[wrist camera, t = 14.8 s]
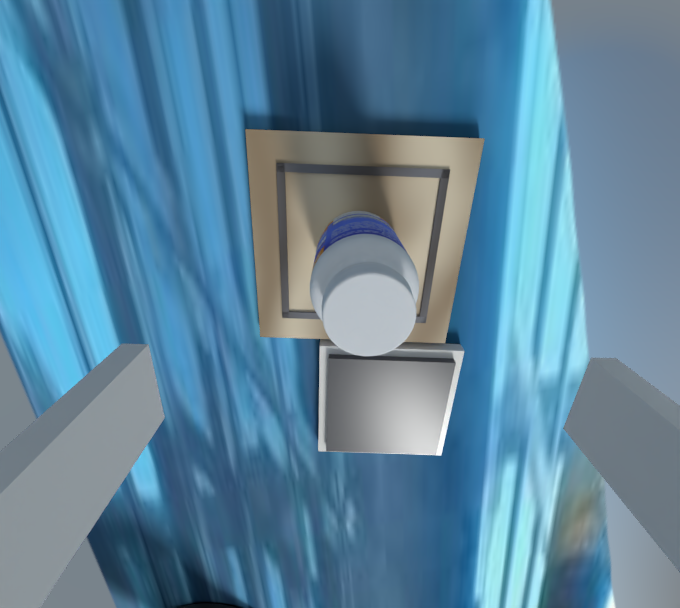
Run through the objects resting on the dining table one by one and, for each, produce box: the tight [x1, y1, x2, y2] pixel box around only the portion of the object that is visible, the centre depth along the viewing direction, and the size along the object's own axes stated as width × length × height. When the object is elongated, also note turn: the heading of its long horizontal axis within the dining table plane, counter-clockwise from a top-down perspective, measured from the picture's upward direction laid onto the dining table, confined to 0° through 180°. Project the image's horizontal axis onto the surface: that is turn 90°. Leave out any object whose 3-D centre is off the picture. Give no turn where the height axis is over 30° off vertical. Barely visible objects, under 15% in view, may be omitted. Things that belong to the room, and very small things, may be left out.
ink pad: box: [318, 339, 464, 455], centre depth 29 cm, size 11×11×2 cm
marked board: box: [245, 129, 484, 343], centre depth 23 cm, size 14×14×1 cm
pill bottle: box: [310, 211, 419, 356], centre depth 19 cm, size 5×5×10 cm
